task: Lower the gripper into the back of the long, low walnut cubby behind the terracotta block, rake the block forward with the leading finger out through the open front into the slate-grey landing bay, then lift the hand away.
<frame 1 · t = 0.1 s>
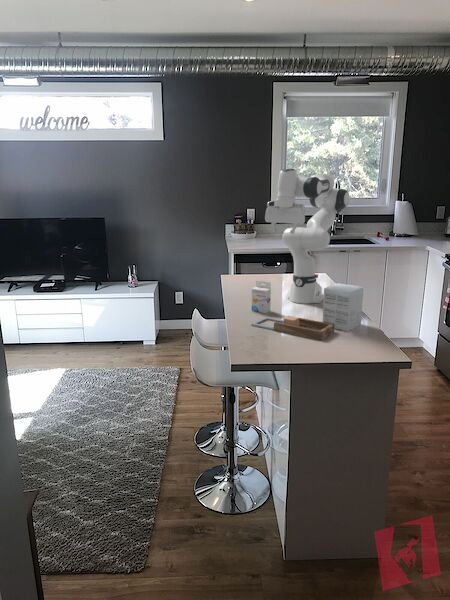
hand: (283, 232, 232), 39 cm above the countertop, tool pointing down, fingers open, 8 cm apart
ink box: (261, 311, 241), on the countertop
supplement box: (341, 325, 219), on the countertop
landing bay: (269, 324, 220), on the countertop
walnut cubby: (303, 331, 210), on the countertop
terracotta block: (291, 328, 214), on the countertop
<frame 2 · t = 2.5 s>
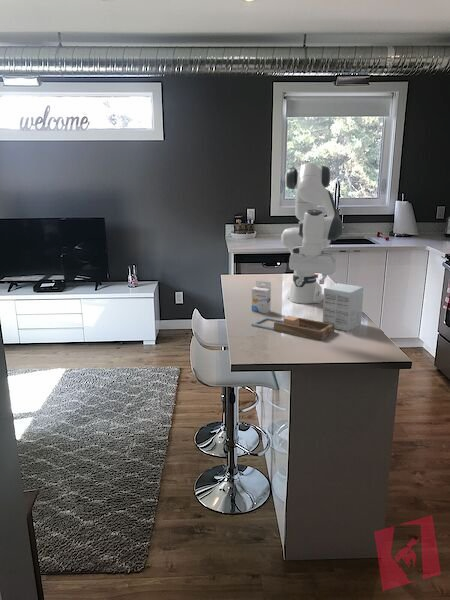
hand: (311, 282, 203), 22 cm above the countertop, tool pointing down, fingers open, 8 cm apart
nothing on the countertop moved.
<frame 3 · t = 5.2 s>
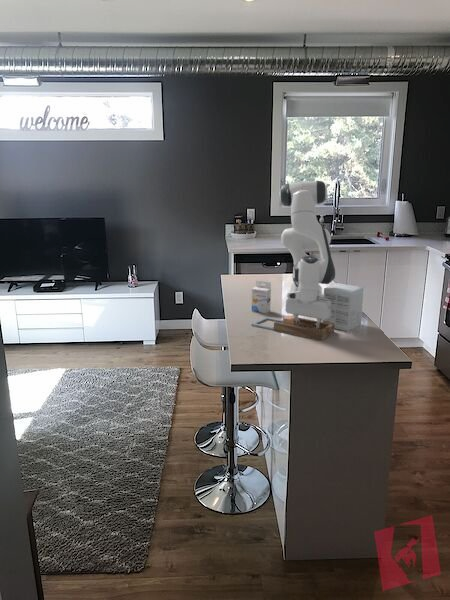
hand: (307, 326, 209), 3 cm above the countertop, tool pointing down, fingers open, 8 cm apart
terracotta block: (290, 328, 214), on the countertop, touching gripper
everything else where it was.
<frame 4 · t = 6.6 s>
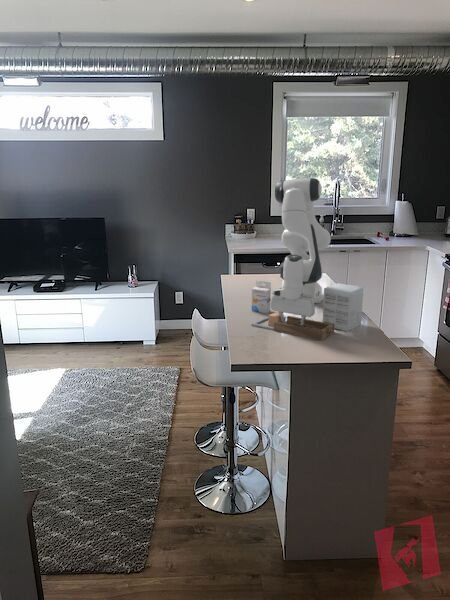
hand: (292, 323, 213), 3 cm above the countertop, tool pointing down, fingers open, 8 cm apart
terracotta block: (275, 325, 218), on the countertop, touching gripper
everything else where it was.
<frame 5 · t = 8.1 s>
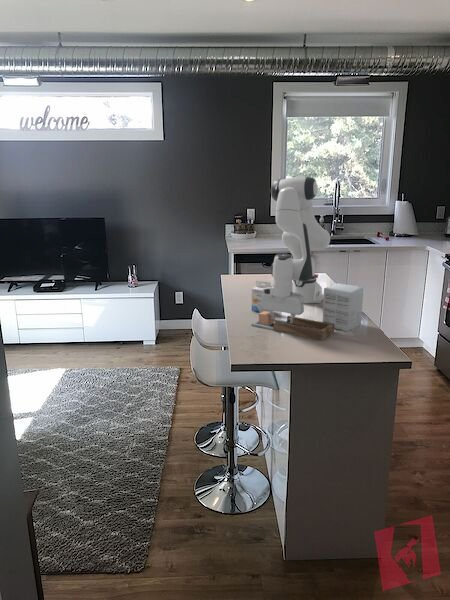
hand: (281, 320, 216), 3 cm above the countertop, tool pointing down, fingers open, 8 cm apart
terracotta block: (266, 323, 221), on the countertop, touching gripper
everything else where it was.
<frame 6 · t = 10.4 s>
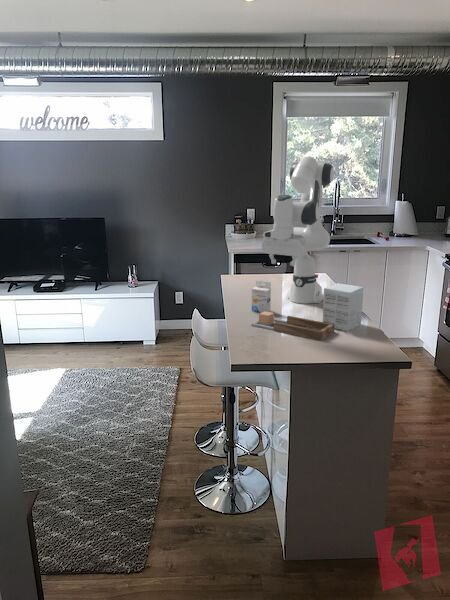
hand: (282, 264, 214), 27 cm above the countertop, tool pointing down, fingers open, 8 cm apart
terracotta block: (266, 323, 221), on the countertop
everything else where it was.
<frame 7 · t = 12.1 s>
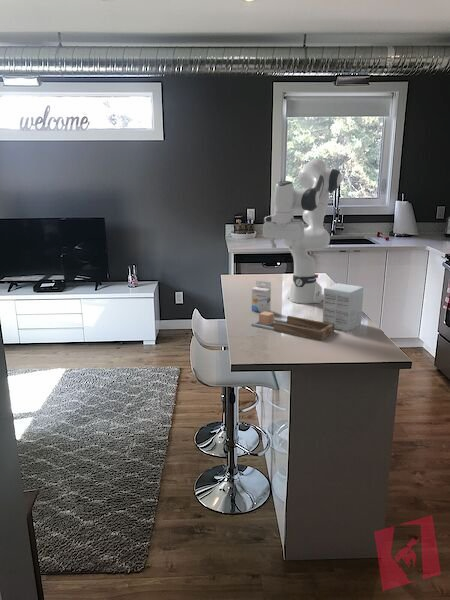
hand: (282, 248, 221), 33 cm above the countertop, tool pointing down, fingers open, 8 cm apart
nothing on the countertop moved.
at the end: terracotta block inside the target area (1.8 cm from its centre), on the countertop; terracotta block moved 12.8 cm from its start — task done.
